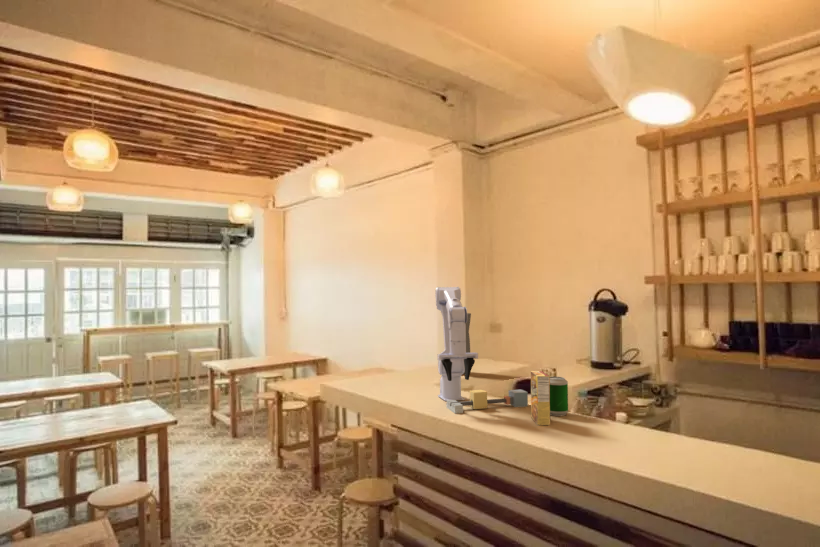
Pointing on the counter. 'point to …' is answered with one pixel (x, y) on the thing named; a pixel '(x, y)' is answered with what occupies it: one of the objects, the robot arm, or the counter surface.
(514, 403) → the block
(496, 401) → the red-tipped gray rod
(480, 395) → the sleeve
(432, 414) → the counter surface
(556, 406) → the soda can
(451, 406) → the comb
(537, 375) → the candy box
